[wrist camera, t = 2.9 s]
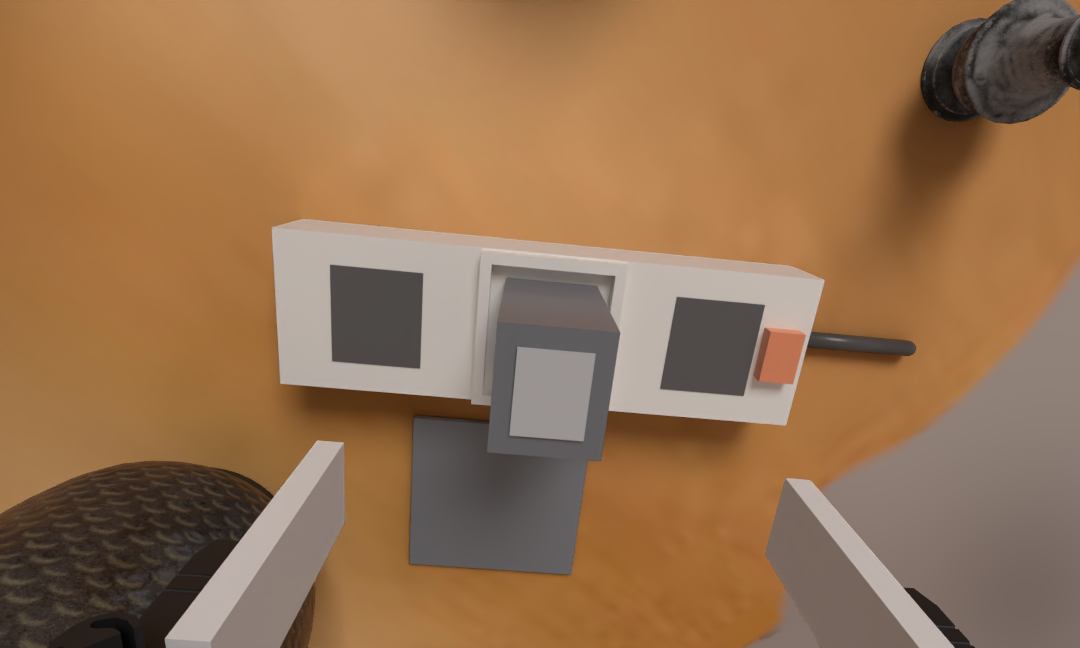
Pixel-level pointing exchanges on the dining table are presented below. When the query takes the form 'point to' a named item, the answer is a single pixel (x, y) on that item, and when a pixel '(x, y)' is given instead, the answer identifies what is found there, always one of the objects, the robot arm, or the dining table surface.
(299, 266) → the strip
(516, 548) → the mat
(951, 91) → the grey chess piece
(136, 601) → the planter
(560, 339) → the charger
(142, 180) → the dining table surface
